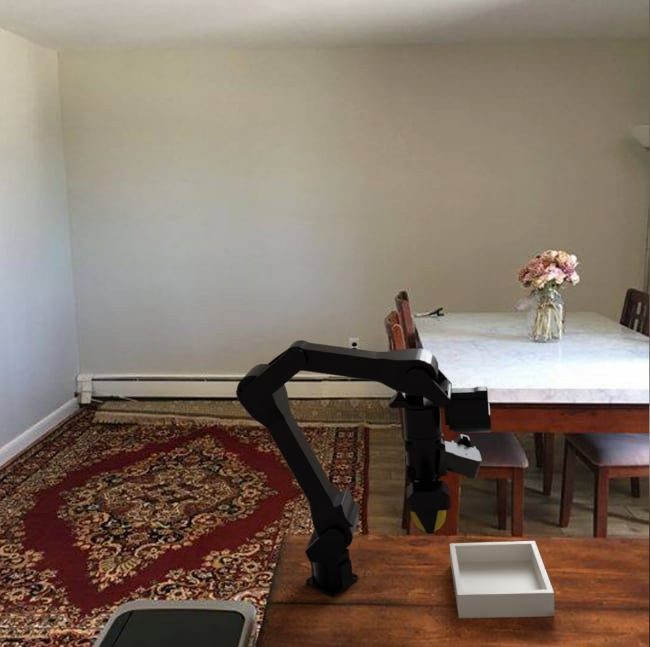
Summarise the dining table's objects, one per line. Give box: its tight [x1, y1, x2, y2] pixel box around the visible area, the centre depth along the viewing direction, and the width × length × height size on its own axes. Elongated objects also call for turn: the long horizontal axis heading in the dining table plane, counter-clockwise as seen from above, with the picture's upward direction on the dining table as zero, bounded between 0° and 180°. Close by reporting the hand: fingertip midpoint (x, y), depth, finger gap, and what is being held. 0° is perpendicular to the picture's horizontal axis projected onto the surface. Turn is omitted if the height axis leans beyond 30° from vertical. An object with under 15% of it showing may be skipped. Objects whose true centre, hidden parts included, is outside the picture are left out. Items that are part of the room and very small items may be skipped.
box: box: [449, 540, 555, 619], centre depth 110 cm, size 14×14×4 cm
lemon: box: [410, 510, 447, 532], centre depth 110 cm, size 6×6×8 cm
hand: (429, 523), depth 110 cm, fingers closed on lemon, 5 cm apart
